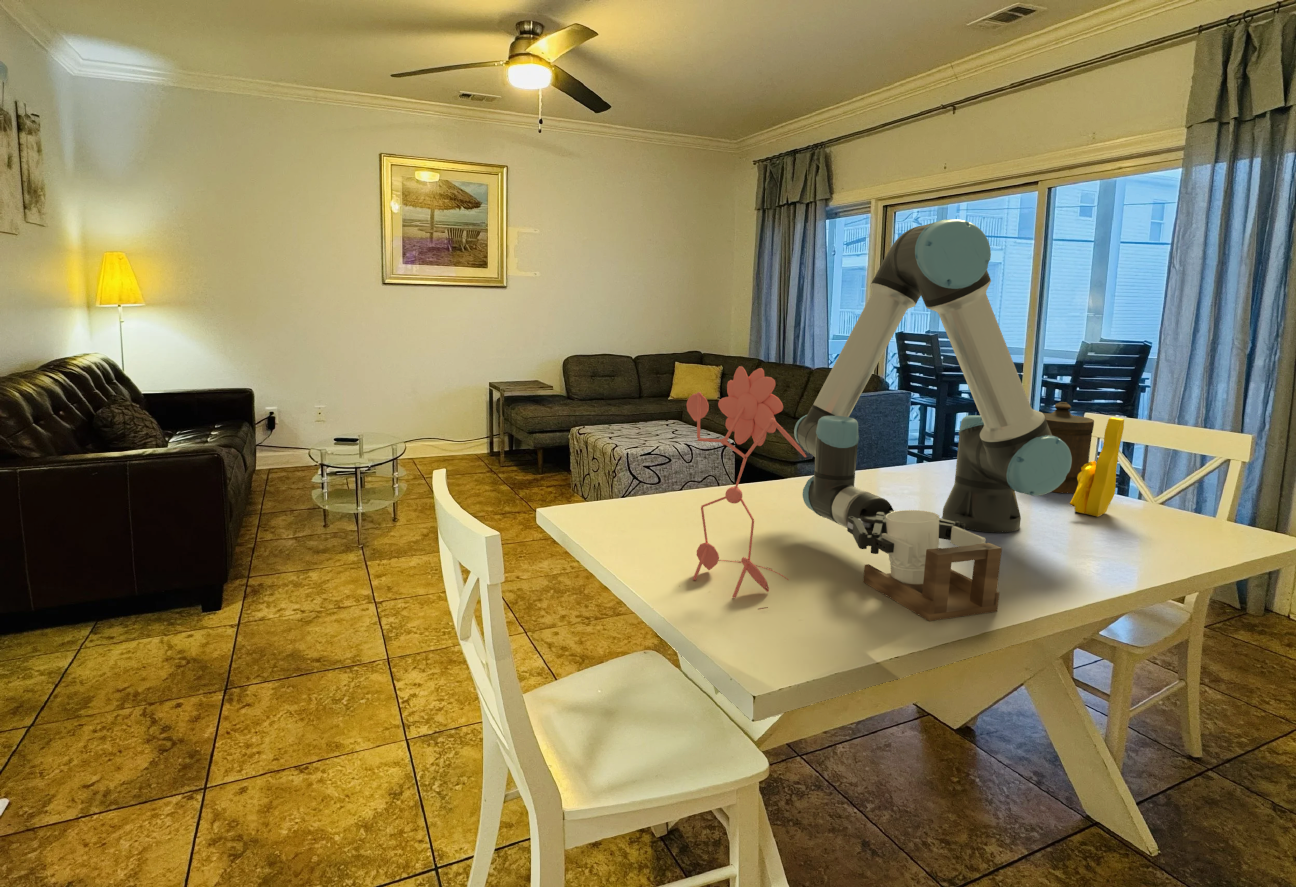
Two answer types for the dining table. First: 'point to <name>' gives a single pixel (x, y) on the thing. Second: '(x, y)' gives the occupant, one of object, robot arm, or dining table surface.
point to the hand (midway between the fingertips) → (947, 550)
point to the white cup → (913, 541)
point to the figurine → (746, 416)
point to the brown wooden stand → (946, 583)
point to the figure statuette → (1100, 474)
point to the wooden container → (1071, 441)
